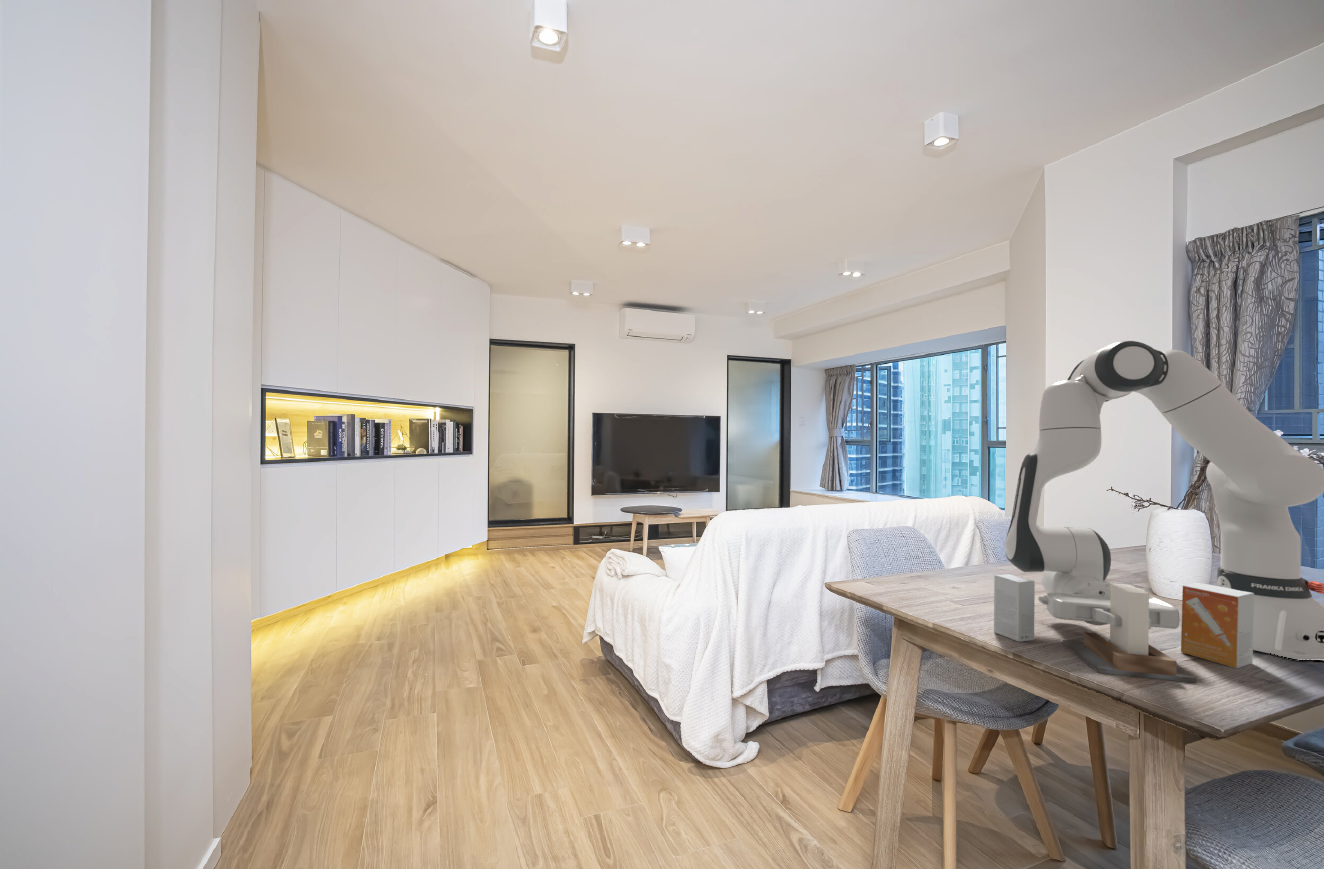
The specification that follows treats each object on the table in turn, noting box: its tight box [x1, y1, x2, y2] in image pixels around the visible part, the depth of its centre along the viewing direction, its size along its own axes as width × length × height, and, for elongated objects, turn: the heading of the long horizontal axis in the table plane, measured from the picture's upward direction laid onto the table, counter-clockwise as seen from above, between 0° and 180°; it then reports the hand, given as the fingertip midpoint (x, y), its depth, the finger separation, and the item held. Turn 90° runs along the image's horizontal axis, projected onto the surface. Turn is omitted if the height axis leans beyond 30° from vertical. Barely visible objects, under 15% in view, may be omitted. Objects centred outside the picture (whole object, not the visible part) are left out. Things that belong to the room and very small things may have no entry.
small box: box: [1180, 582, 1254, 670], centre depth 104 cm, size 8×6×13 cm
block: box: [1109, 582, 1150, 656], centre depth 101 cm, size 3×6×12 cm, turn 166°
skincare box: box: [993, 573, 1036, 642], centre depth 114 cm, size 6×4×12 cm
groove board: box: [1062, 631, 1197, 684], centre depth 102 cm, size 14×14×3 cm
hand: (1131, 623), depth 100 cm, fingers closed on block, 3 cm apart
